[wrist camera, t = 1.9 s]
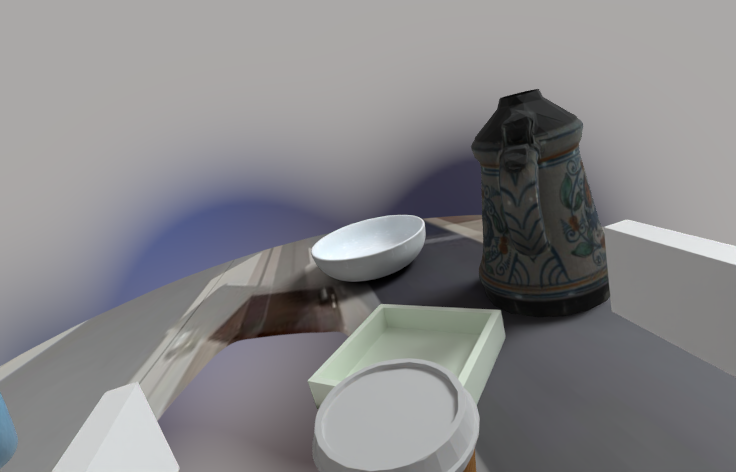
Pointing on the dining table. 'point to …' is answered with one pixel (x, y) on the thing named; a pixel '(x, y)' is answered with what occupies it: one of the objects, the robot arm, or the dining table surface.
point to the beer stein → (538, 212)
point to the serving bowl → (370, 248)
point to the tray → (419, 344)
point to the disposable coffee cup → (397, 421)
